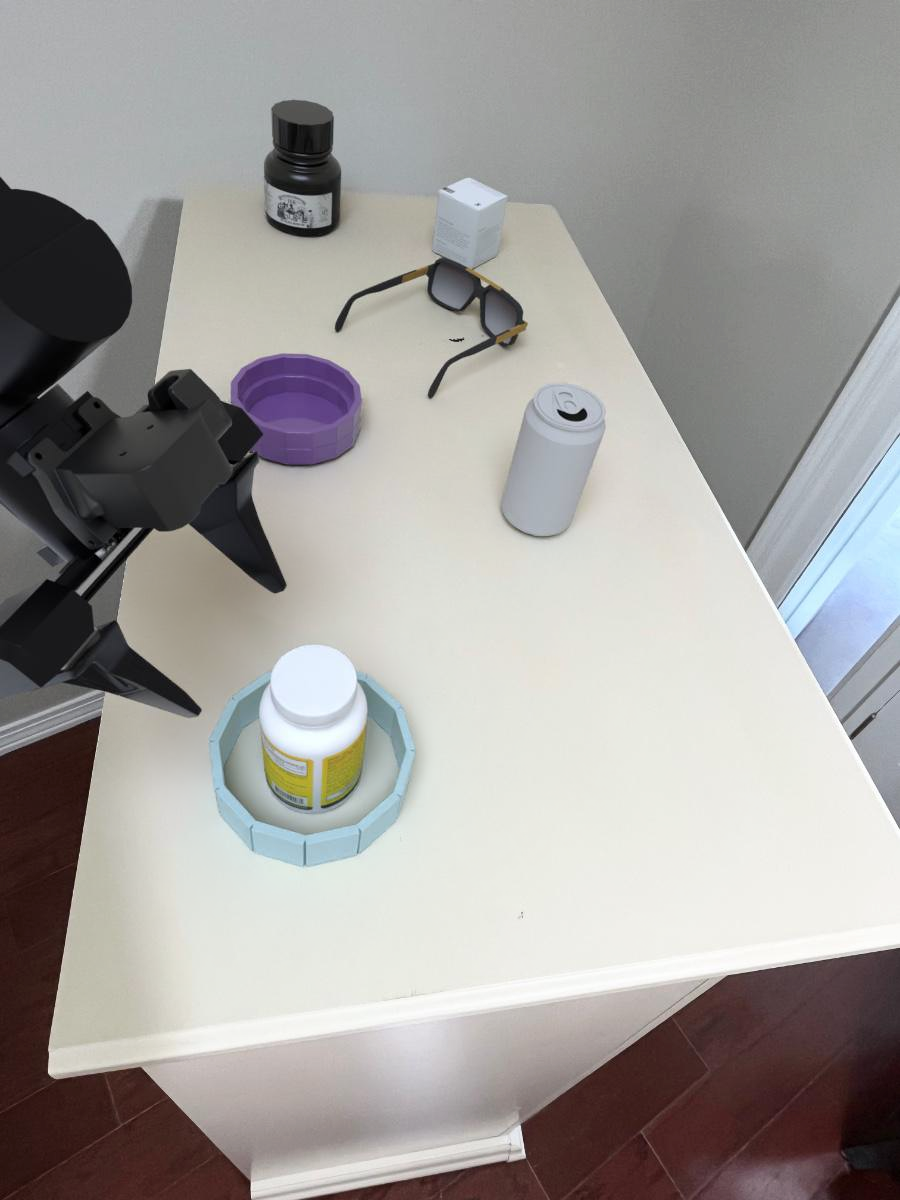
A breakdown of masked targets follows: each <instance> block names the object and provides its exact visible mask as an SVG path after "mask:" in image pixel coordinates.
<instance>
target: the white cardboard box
mask: <svg viewBox="0 0 900 1200" xmlns="http://www.w3.org/2000/svg"><path fill="white" fill-rule="evenodd" d="M508 198H509V197H508V195H506V194H504V193H503V192H500V191H498V190H496V189H494V188H492V187H490V186H488V185H486V184H483V183H481V182H480V181H477V180H475V179H473V178H471V177H465V178H462V179H461V180H459V181H456V182H454V183H452V184H449V185H447V186H445V187H443V188H440V189H439V190H438V193H437V200H436V211H435V218H434V219H435V221H434V229H433V237H432V238H433V239H432V247H431V248H432V249H431V251H432V252H433V253H435V254H437V255H439V256H441V257H442V258H448V259H450V260H453V261H455V262H458V263H460V264H462V265H464V266H466V267H469V268H470V269H472V270H474V269H475V268H477V267H479V266H481V265H483V264H484V263H486V262H488V261H490V260H491V259H494V258H495V257H497V256H498V255H499V251H500V250H499V249H500V245H501V239H502V233H503V227H504V221H505V216H506V210H507V203H508V200H509V199H508Z"/></svg>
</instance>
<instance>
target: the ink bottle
mask: <svg viewBox="0 0 900 1200" xmlns="http://www.w3.org/2000/svg"><path fill="white" fill-rule="evenodd" d="M270 110H271V111H270V113H271V137H272V146H273V148H272V150H271V151H269V153H268V154H266V156H265V158H264V162H263V193H264V194H263V196H264V209H265V216H266V217H265V218H266V219H267V221H268V222H269V223H270V225H272V226H273V227H274V228H277V229H278V230H281V231H283V232H286V233H290V234H292V235H298V236H305V237H306V236H307V237H314V236H322V235H326V234H328V233H329V232H332V231H334V230H335V228H337V226H338V225H339V223H340V218H341V193H342V168H341V164H340V162H339V161H338V160H337V158H336V157H335V156H334V155H333V153H332V151H333V149H334V128H335V127H334V125H335V123H334V122H335V116H334V114H333V111H332V110H331V109H329V108H328V107H327V106H325V105H323V104H320V103H318V102H314V101H309V100H302V99H287V100H282V101H279V102H276V103H274V104H273V105H272V107H270Z"/></svg>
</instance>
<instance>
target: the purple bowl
mask: <svg viewBox="0 0 900 1200" xmlns="http://www.w3.org/2000/svg"><path fill="white" fill-rule="evenodd" d="M361 391H362V390H361V386H360V384H359V383H358V381H357V380H356V379H355V377H354V376H353V375H352V373H350V371H348V369H346V368H344V367H342V366H341V365H338V364H337V363H335V362H334V361H332V360H330V359H326V358H323V357H319V356H317V355H316V356H315V355H311V354H308V353H286V352H285V353H284V352H283V353H277V354H272V355H267V356H263V357H259V358H257V359H255V360H254V361H252V362H250V363H248V364H246V365H245V366H243V367H241V368H240V369H239V370H238V372H237V373H236V374H235V376H234V377H233V378H232V380H231V381H230V404H232V405H234V406H237V407H240V408H242V409H243V410H244V411H245V412H246V413H247V414H248V416H249V417H250V418H251V419H252V420H253V421H254V423H255V424H256V425H257V426H258V427H259V428H260V430H261V431H262V432H263V434H264V435H263V436H262V437H261V438H260V439H259V440H258V442H257V443H256V444H255V445H254V446H253V447H252V449H251V450H250V451H251V452H252V453H253V452H255V451H257V452H258V454H259V457H260V458H262V459H266V460H269V461H272V462H276V463H280V464H284V465H297V466H305V465H316V464H319V463H322V462H325V461H326V462H327V461H331V460H333V459H335V458H338V457H340V456H341V455H342V454H343V453H346V451H348V450H349V449H350V448H352V447H353V445H354V443H355V442H356V440H357V438H358V436H359V434H360V431H361V419H362V403H363V399H362V392H361Z"/></svg>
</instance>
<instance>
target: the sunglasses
mask: <svg viewBox="0 0 900 1200" xmlns="http://www.w3.org/2000/svg"><path fill="white" fill-rule="evenodd" d="M423 276H426V277H427V278H428V279H427V286H426V289H427V290H426V291H427V294H428V296H429V297H430V299H431V300H432V301H434V302H435V303H436V304H438V305H440V306H441V307H444V308H446V309H448V310H450V311H454V312H463V311H465V310H466V309H468V307H469V306H470V305H471V304H472V303H473V302H474V301H475V300H476V299H478V300H479V318H480V319H479V320H480V326H481V328H482V329H483V330H484V332H485V333H486V334H487V335H488V336H489V338H488V339H487V338H486V340H483V341H482V342H479V343H477V344H476V345H474V346H471V347H470V348H468V349H465V350H463V351H462V352H460V353H458V354H456V355H455V356H453V357H451V358H449V359H448V360H447V361H445V363H443V365H442V367H441V368H440V370H439V371H438V373H437V374H436V376H435V378H434V379H433V380H432V383H431V385H430V387H429V389H428V392H427V398H428V399H432V398H434V396H435V395H436V394H437V391H438V389H439V387H440V385H441V383H442V381H443V379H444V377H445V374H446V372H447V370H448V369H449V367H450V366H452V364H454V363H457V362H458V361H460V360H462V359H465V358H467V357H471V356H473V355H476V354H479V353H480V352H483V351H484V350H486V349H488V348H491V347H493V346H495V345H498V344H499V345H500V346H503V347H509V346H513V345H514V344H515V343H516V341H517V339H518V337H519V334H520V333H522V332H524V331H526V329H527V327H528V325H529V323H528V322H527V321H525V320H524V309H523V307H522V305H521V303H520V302H519V301H518V300H516V299H515V297H513V296H512V295H511V294H510V293H509V292H508V291H506V290H504V288H503V287H501V286H500V285H498V284H497V283H495V282H493V281H492V280H490V279H488V278H487V277H485V276H484V275H482V274H481V273H479V272H477V271H475V270H474V269H470V268H469V267H466V266H464V265H462V264H460V263H458V262H455V261H453V260H450V259H448V258H445V257H440V258H438V259H436V260H435V261H434V262H433V263H430V264H428V265H425V266H422V267H420V268H417V269H414V270H411V271H408V272H405V273H402V274H400V275H397V276H394V277H392V278H389V279H387V280H385V281H382V282H379V283H377V284H375V285H372V286H369V287H368V288H365V289H363V290H359V291H358V292H356V293H354V294H352V295H351V296H350V298H349V299H348V300H347V301H346V302H345V304H344V306H343V307H342V309H341V311H340V313H339V314H338V316H337V319H336V320H335V322H334V331H335V332H336V333H339V332H341V330H342V329H343V327H344V326H345V325H344V324H345V323H346V320H347V319H348V315H349V313H350V311H351V308H352V306H353V304H354V302H355V301H357V300H358V299H360V298H363V297H365V296H368V295H370V294H376V293H381V292H383V291H386V290H388V289H391V288H393V287H396V286H400V285H402V284H404V283H407V282H410V281H413V280H415V279H417V278H420V277H423ZM482 281H483V282H485V283H487V285H486V286H483V285H482Z"/></svg>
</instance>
